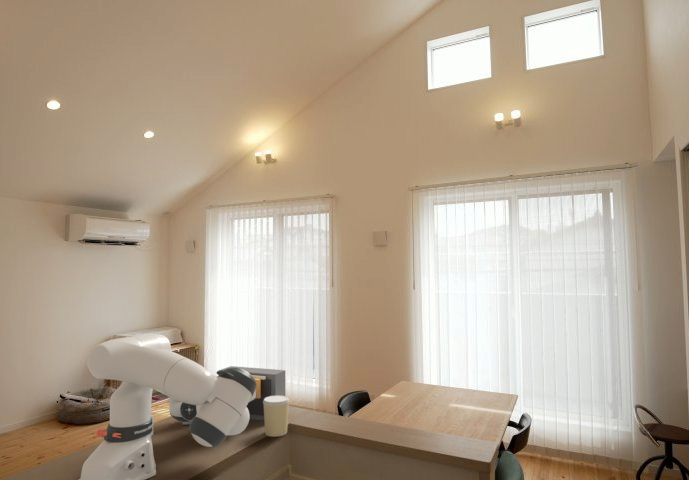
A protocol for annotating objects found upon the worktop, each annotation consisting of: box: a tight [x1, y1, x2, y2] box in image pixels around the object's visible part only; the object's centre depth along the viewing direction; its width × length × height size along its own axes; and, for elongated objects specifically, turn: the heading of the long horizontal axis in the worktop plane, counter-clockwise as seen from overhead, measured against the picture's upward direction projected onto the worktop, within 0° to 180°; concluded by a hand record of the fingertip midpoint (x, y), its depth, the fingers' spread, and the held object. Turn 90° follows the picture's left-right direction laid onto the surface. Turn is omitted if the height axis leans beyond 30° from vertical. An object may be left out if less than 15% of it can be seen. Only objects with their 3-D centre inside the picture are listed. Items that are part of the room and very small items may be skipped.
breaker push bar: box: [255, 379, 261, 399], centre depth 177 cm, size 3×16×7 cm, turn 69°
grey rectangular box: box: [220, 365, 286, 422], centre depth 182 cm, size 9×26×18 cm, turn 69°
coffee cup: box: [263, 395, 290, 438], centre depth 163 cm, size 9×9×12 cm
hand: (241, 387), depth 175 cm, fingers open, 8 cm apart
